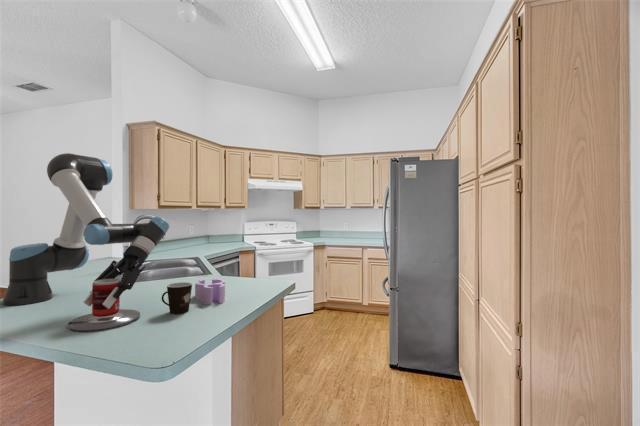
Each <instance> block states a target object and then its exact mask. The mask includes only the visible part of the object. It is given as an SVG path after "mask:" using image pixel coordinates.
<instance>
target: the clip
mask: <svg viewBox="0 0 640 426" xmlns="http://www.w3.org/2000/svg"><path fill="white" fill-rule="evenodd" d="M194 285H195V286H194V289H195V290H194V298H195V299H194V300H196V299H197V300H196V301H200V300H202V302H203V304H204V305H207V304H210V306H211V304H212V305H213V301H218V304H223V303H225V300H226V299H225V298H226V280H225V279H221V278H217V277H214V278H212V279H211V283H206V281H205V279H198V280H197V281H195V283H194Z"/></svg>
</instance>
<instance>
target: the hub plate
mask: <svg viewBox="0 0 640 426" xmlns="http://www.w3.org/2000/svg"><path fill="white" fill-rule="evenodd" d="M140 318H141V313H140V311H139V310H135V309H127V308H126V309H122V308H121V309H120V308H119V312H118V313H116V314H114V315H110V316H105V317H95V316H93V314H92V312H91V313H87V314H84V315H80V316H78V317H75V318H73V319H71V320H70V321H68V323H67V329H68V331H71V332H76V333H77V332H78V333H92V332H100V331H101V332H102V331H108V330H112V329H118V328H121V327H122V328H123V327H126V326H128V325H130V324H132V323H135V322H137V321H138V320H139V319H140Z"/></svg>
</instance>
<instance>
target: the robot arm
mask: <svg viewBox="0 0 640 426" xmlns="http://www.w3.org/2000/svg"><path fill="white" fill-rule="evenodd" d="M46 173H47V177H48V180H49V181H50V182H51V184H52V185H53V186H55V187H57V188H58V189H59V191H60V192H61V193H62V194H63V195H64V197H65V198H66V200H67V202H68V206H67V208H66V209H67V210H66V213H65V217H64V220H63V223H62V226H61V231H60V234H59V236H58V237H56V238H54V240H53V242H52V243H53V244H52V245H48V243H46V242H38V243H37V242H36V243H29V244H23V245H18V246H15V247H13V248H12V249H11V250H10V253H9V257H8V261H9V269H8V270H9V277H8V278H9V279H8V280H9V282H8V286H7V288H6V291H5V293H4V295H3V298H2V305H4V306H19V305H20V306H22V305H30V304H35V303H36V304H37V303H40V302H44V301H49V300H51V299H53V291H52V288H51V286H50V284H49V281H48V273H56V272H62V271H73V270H77V269H80V268H82V267H84V265H86V264H87V262H88V260H89V258H90V257H89V256H90V252H89V251H90V250H89V247H88V245H91V246H103V245H113V244H124V243H125V244H127V243H129V246H128V247H127V248H126V249H125V250H124V252H123V254H122V255H123V258H121V259H120V260H119V261H116V260H112V261H111V263H110V264H109V265H108V266H107V267H106V268H105V269H104V270H103V272H102V273H100V275H99V276H97V277H96V278H95V280H94V281H97V280H102V279H117V277H118V276H121V275H122V276H121V279H120V284H119V285H117V286H118V287H119V288H118V287H115V289H114V290H113V291H112V292H111V294H110V295H109V296H108V297H107V299H106V300H105V301H104V303H103V304H102V305H104V306H105V307H106V308H108V309H110V307H111V306H112V305H113V303H114V302H115V301H116V299H118V298H119V297H120V296H121V295H122V294H123V293H124V292H125V291H127V290H129V291H130V290H132V289H133V286H134V285H135V283H136V281H137V280H138V278H139V276H140V275H141V273H142V271H143V270H144V269H146V265H144V263H145V261H147V259H148V257H149V256H150V255H151V253H152V252H153V250H154V249H155V248H156V247H157V246H158V244H159V243H160V241H162V239H163V238H164V236H166V234H167V232H168V231H169V228H170V224H169V222H167V220H166V219H164V218H162V217H160V216H154V217H152V218H151V219H150V220H149V222H143V223H142V222H141V223H112V222H111V221H110V219H109V218H108V216H107V215H106V214H105V212H104V211H103V209H102V208H101V207H100V205H99V204H98V202H97V201H96V196H97V194H98V193H100V192H102V191H103V188H104V186H107V185H109V184H111V183H112V180H113V176H114V175H113V169H112V166H111V164H110V163H109V162H108V161H106V160H105V159H101V158H97V157H94V156H93V157H92V156H85V155H80V154H75V153H68V152H67V153H66V152H65V153H60V154H57V155H55V156H54V157H53V158H52V159H51V160H50V161H49V162H48V163H47V167H46ZM87 244H88V245H87ZM120 298H121V297H120ZM82 302H83V303H84V304H85V305H86V306H88V307H92V290H91V291H90V292H89V294H88V295H87V297H86V298H85V299H84V300H83V301H82Z"/></svg>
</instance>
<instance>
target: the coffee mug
mask: <svg viewBox="0 0 640 426" xmlns="http://www.w3.org/2000/svg"><path fill="white" fill-rule="evenodd" d="M192 287H193V283H192V282H188V281H187V282H183V281H182V282H173V283H169V284H167V285H166V291H164V292H163V293H162V294H161V302H162V303H164V305H166V306H168V308H169V313H170V315H182V314H186V313H188V312H189V311H190V303H191V296H192ZM166 294H167V299H168V302H166V301H165V298H164V297H165V296H166Z"/></svg>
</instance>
